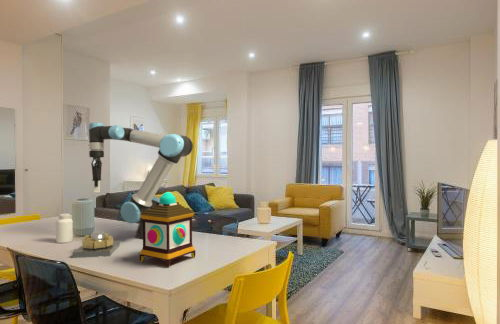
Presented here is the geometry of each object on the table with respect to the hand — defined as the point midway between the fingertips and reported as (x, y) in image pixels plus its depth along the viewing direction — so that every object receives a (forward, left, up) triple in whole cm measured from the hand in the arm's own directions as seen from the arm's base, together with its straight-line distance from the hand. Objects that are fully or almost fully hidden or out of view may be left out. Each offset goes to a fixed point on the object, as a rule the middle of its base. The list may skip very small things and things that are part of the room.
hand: (97, 192), depth 189 cm
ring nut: (-6, +23, -23) cm, 34 cm away
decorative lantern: (-43, +47, -27) cm, 69 cm away
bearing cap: (-8, +27, -26) cm, 39 cm away
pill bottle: (+16, +3, -27) cm, 31 cm away
